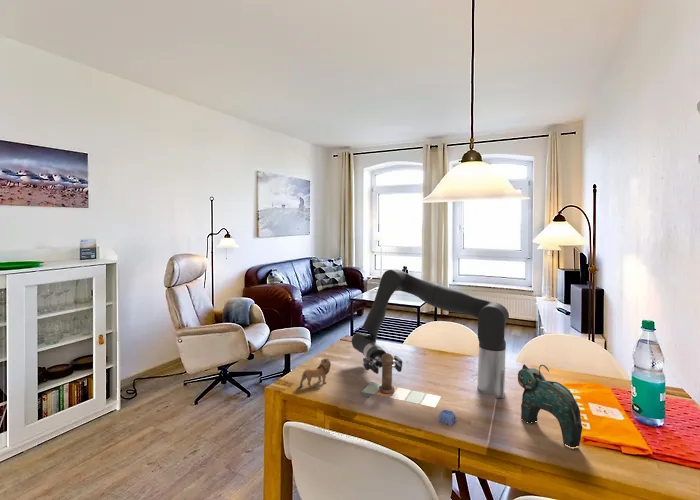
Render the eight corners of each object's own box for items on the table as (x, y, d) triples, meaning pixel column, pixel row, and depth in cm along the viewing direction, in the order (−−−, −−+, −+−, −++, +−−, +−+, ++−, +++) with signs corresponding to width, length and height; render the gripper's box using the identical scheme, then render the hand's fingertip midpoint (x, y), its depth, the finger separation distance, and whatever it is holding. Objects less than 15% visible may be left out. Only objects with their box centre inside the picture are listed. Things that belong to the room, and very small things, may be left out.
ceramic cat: (514, 417, 119) (516, 357, 118) (529, 414, 122) (532, 354, 120) (569, 453, 101) (573, 381, 100) (586, 448, 103) (590, 378, 102)
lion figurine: (325, 377, 150) (325, 355, 149) (333, 381, 146) (334, 358, 146) (295, 387, 140) (295, 364, 139) (303, 392, 136) (304, 368, 135)
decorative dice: (444, 420, 117) (444, 408, 117) (456, 424, 115) (456, 412, 114) (438, 425, 114) (438, 413, 114) (450, 430, 112) (450, 417, 111)
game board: (441, 399, 131) (441, 396, 131) (435, 412, 122) (435, 408, 122) (371, 384, 143) (371, 381, 143) (360, 395, 134) (360, 391, 134)
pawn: (396, 389, 136) (397, 352, 135) (391, 395, 131) (392, 357, 130) (382, 386, 139) (382, 350, 138) (376, 392, 133) (377, 354, 133)
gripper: (358, 346, 146) (370, 361, 130) (391, 344, 149) (407, 358, 134) (357, 365, 147) (369, 382, 131) (391, 362, 150) (407, 378, 134)
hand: (389, 370), depth 132 cm, fingers open, 8 cm apart
